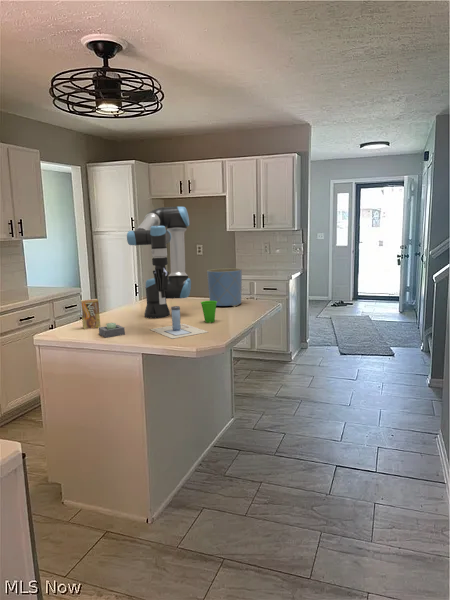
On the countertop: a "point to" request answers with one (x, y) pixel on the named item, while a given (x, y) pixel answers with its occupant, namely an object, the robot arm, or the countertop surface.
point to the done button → (111, 325)
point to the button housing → (111, 331)
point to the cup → (209, 310)
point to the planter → (225, 286)
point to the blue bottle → (176, 318)
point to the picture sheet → (183, 331)
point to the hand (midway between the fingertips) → (162, 303)
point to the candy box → (90, 313)
